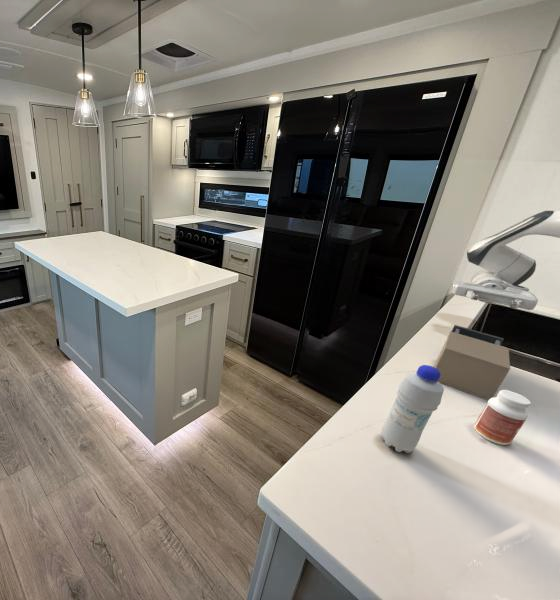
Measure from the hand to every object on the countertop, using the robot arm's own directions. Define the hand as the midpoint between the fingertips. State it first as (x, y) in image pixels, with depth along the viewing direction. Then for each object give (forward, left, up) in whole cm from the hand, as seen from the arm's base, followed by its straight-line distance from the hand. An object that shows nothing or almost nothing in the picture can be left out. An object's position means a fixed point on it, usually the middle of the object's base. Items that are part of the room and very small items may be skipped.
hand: (494, 301), depth 101 cm
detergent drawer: (+7, +13, -17) cm, 22 cm away
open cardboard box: (+13, +25, -17) cm, 33 cm away
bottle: (+39, +61, -18) cm, 74 cm away
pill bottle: (+17, +49, -18) cm, 54 cm away
